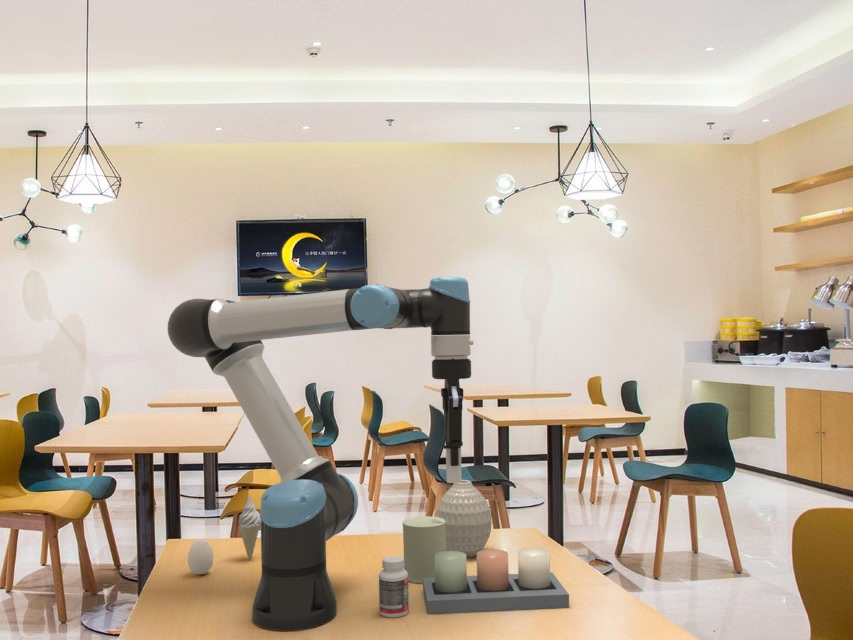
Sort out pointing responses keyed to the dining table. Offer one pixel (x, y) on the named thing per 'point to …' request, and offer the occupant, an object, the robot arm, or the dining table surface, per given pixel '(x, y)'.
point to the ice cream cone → (249, 526)
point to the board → (494, 597)
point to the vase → (465, 518)
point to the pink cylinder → (492, 569)
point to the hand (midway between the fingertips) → (454, 481)
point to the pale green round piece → (450, 571)
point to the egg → (200, 557)
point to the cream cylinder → (534, 568)
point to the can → (422, 546)
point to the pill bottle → (393, 588)
